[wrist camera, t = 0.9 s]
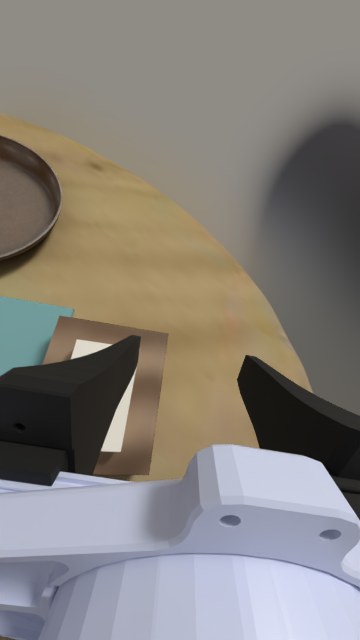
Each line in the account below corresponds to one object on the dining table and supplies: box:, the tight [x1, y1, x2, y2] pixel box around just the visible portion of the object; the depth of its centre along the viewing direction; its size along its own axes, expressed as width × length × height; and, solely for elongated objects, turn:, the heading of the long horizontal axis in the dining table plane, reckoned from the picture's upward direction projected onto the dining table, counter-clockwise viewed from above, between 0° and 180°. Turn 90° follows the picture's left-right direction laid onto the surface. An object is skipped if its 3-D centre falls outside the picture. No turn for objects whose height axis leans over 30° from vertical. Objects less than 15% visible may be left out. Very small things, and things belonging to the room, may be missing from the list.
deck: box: [42, 315, 168, 475], centre depth 20 cm, size 14×12×4 cm
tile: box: [71, 339, 140, 452], centre depth 17 cm, size 9×6×2 cm, turn 173°
